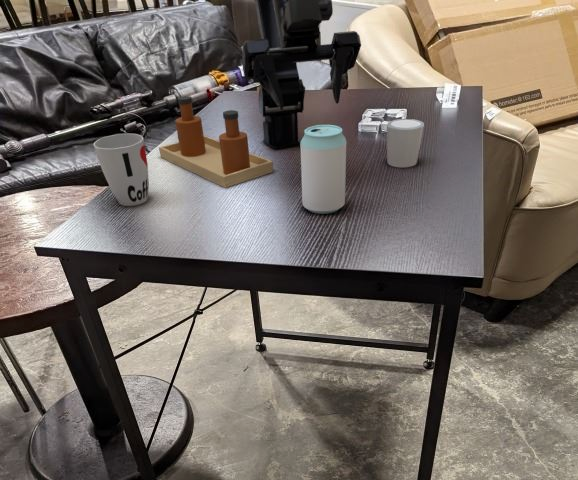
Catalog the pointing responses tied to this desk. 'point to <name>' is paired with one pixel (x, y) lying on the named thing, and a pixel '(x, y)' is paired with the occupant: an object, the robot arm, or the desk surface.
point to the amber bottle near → (233, 145)
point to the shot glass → (403, 142)
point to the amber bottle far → (189, 130)
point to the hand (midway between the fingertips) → (310, 104)
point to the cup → (124, 167)
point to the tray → (216, 164)
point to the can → (323, 168)
